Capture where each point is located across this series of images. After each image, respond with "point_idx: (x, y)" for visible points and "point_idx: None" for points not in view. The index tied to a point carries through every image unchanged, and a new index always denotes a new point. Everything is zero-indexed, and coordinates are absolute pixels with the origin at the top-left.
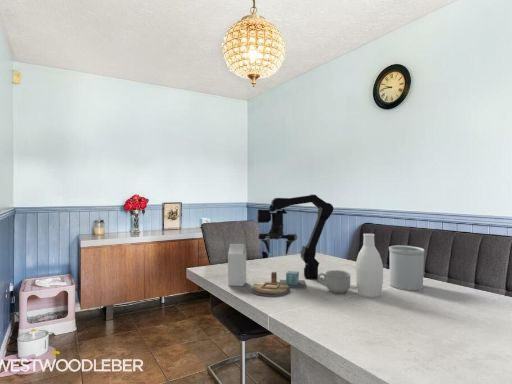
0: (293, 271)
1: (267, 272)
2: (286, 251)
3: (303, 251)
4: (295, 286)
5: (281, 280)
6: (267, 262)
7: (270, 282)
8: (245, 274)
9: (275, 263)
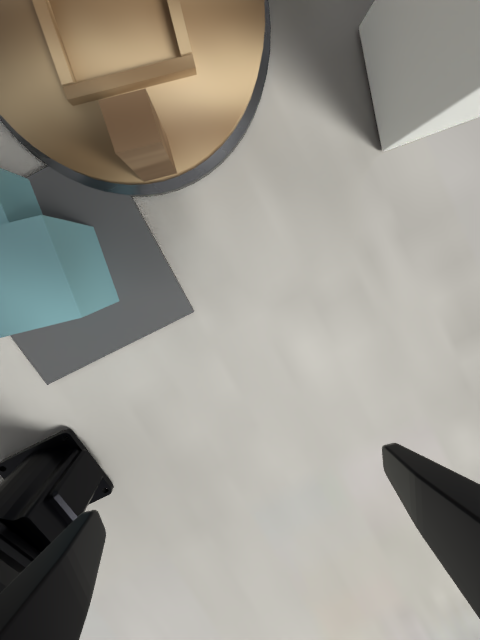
0: (27, 320)
1: (354, 439)
2: (51, 554)
3: None
4: None
5: (175, 303)
6: (443, 612)
7: (176, 138)
8: (421, 80)
9: (393, 616)
